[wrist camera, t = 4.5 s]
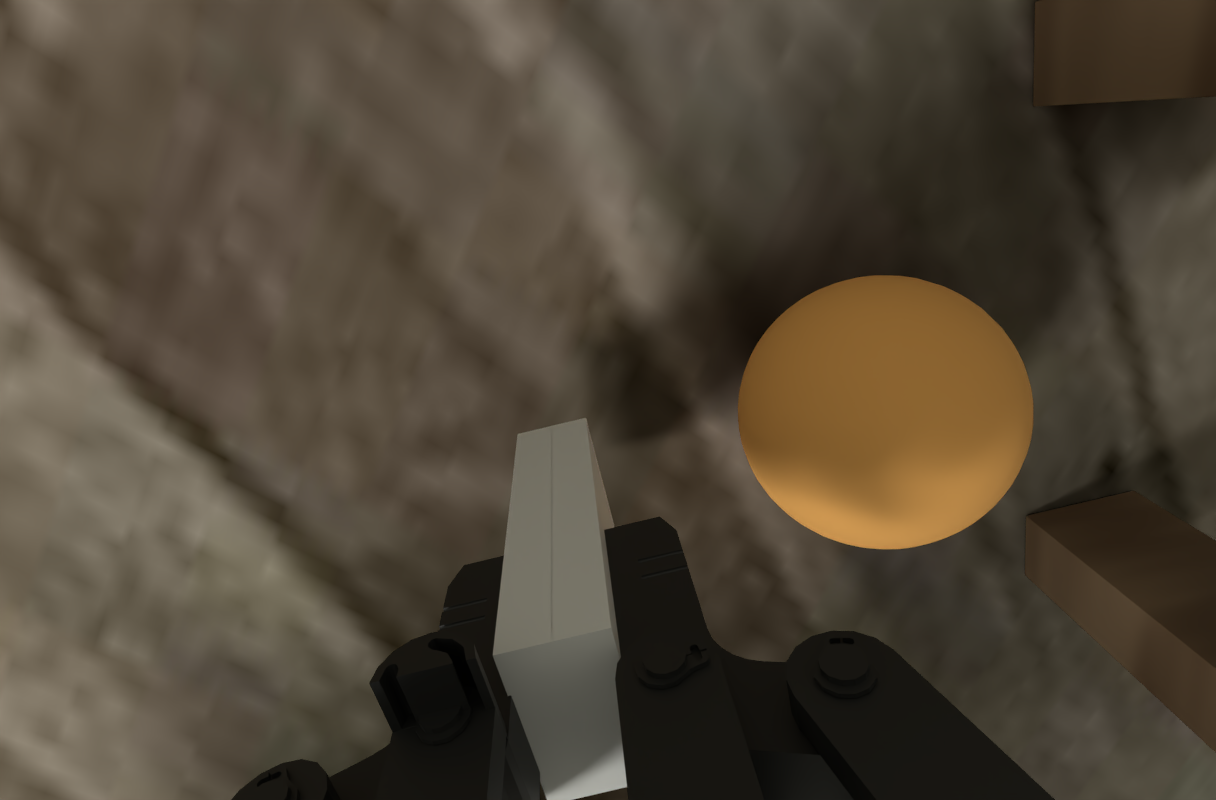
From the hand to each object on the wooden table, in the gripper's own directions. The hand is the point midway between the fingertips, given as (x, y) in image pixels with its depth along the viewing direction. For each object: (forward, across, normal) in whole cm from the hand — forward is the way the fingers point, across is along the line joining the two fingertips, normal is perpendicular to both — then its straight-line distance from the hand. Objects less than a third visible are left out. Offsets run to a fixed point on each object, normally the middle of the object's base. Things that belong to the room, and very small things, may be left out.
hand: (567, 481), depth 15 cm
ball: (-1, -6, 0) cm, 7 cm away
